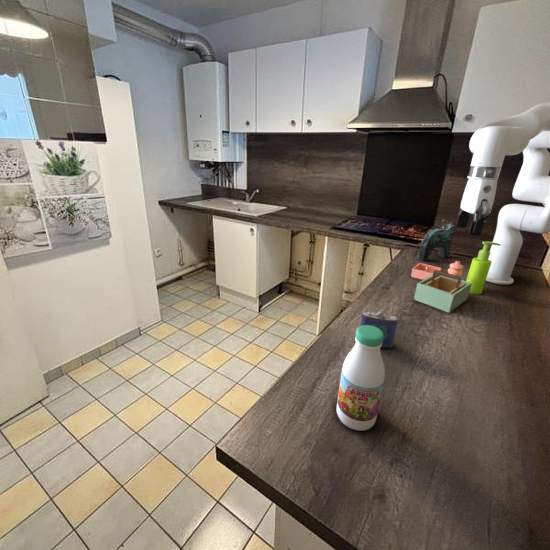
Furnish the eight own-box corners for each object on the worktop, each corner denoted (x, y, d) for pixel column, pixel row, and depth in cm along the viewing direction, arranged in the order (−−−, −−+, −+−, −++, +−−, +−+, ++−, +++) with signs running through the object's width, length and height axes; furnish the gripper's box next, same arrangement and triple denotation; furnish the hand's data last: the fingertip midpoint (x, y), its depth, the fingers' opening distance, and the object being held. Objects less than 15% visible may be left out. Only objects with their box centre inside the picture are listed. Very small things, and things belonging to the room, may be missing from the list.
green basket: (433, 289, 114) (437, 272, 112) (466, 300, 106) (472, 282, 103) (413, 300, 105) (417, 283, 102) (448, 314, 96) (454, 295, 94)
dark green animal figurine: (442, 254, 155) (451, 216, 147) (453, 258, 149) (463, 219, 141) (414, 258, 147) (423, 219, 139) (425, 263, 142) (435, 222, 134)
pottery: (410, 277, 124) (415, 255, 121) (417, 271, 131) (422, 250, 127) (458, 290, 114) (465, 266, 110) (463, 282, 120) (469, 260, 116)
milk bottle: (331, 401, 62) (342, 320, 54) (367, 399, 62) (382, 318, 54) (342, 433, 55) (356, 345, 47) (382, 430, 55) (402, 343, 47)
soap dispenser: (486, 296, 109) (504, 245, 101) (466, 294, 110) (482, 243, 103) (480, 289, 115) (496, 240, 107) (460, 287, 116) (475, 239, 108)
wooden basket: (435, 290, 112) (442, 265, 108) (460, 298, 106) (468, 272, 102) (420, 299, 104) (426, 273, 100) (445, 309, 98) (453, 282, 94)
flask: (392, 344, 80) (399, 310, 76) (393, 350, 78) (400, 316, 74) (357, 338, 83) (362, 305, 79) (357, 344, 80) (362, 310, 76)
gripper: (515, 176, 76) (494, 239, 83) (483, 172, 92) (468, 225, 98) (483, 175, 77) (465, 237, 84) (457, 171, 93) (444, 224, 100)
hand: (467, 231), depth 91 cm, fingers open, 9 cm apart
